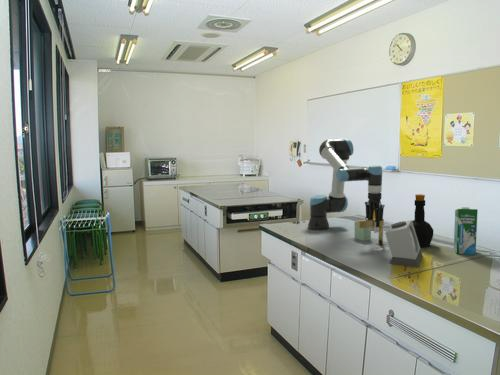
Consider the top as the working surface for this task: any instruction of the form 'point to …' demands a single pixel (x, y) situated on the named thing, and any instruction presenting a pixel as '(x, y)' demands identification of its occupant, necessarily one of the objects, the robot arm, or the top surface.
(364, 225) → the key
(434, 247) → the top surface
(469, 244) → the milk carton
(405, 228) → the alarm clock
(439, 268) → the top surface
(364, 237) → the pale green block
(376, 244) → the plate
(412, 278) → the top surface
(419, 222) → the bottle
